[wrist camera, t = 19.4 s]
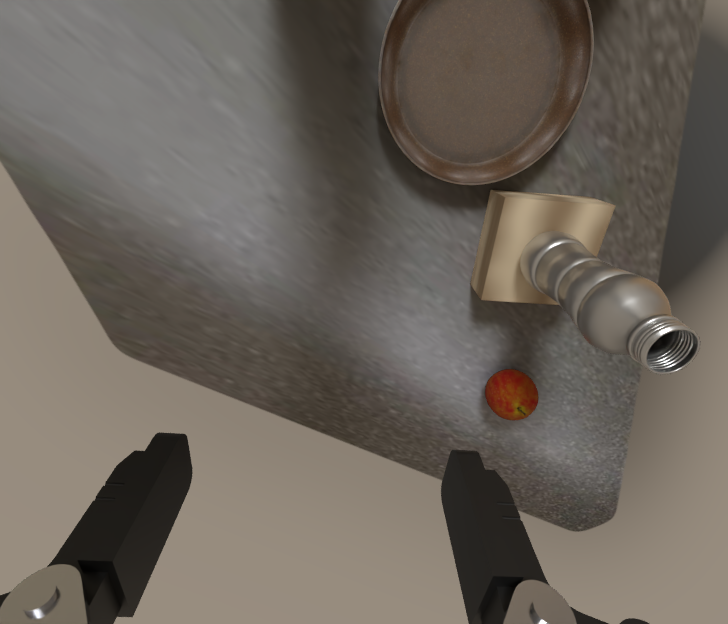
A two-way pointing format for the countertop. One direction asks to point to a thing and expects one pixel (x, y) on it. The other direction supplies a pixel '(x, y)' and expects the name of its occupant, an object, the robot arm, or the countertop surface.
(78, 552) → the robot arm
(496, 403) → the fruit
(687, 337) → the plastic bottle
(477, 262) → the block
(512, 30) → the plant saucer
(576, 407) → the countertop surface
